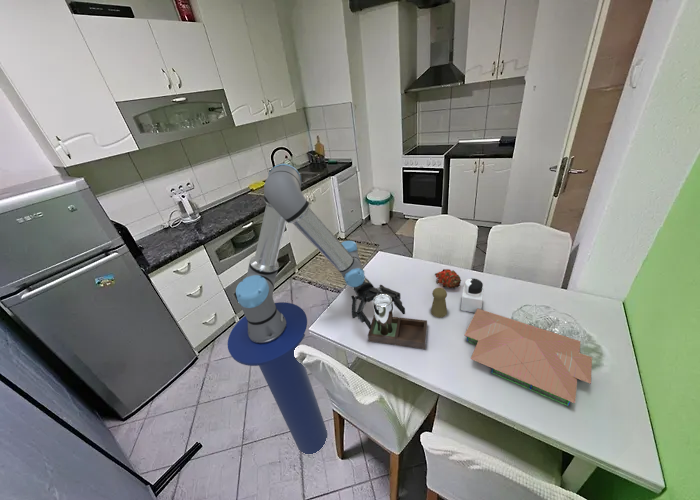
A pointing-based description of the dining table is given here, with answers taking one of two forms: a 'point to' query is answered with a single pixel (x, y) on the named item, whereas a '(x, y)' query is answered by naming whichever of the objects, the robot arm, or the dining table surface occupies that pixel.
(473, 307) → the medicine bottle
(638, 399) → the dining table surface
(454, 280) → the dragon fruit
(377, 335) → the caddy
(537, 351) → the house
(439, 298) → the salt shaker
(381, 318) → the beer glass
